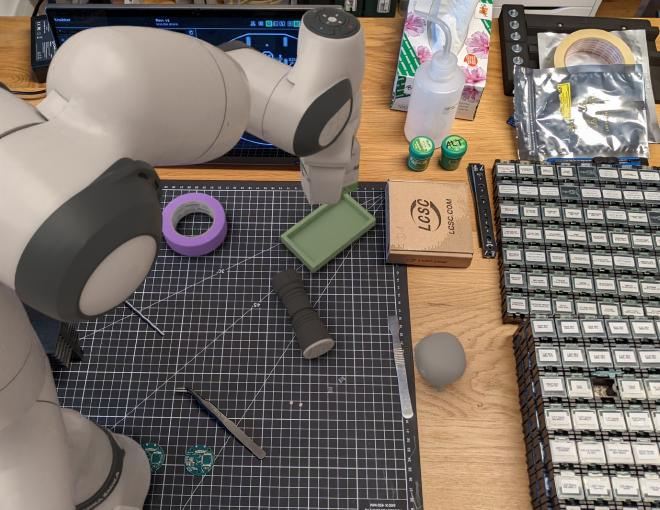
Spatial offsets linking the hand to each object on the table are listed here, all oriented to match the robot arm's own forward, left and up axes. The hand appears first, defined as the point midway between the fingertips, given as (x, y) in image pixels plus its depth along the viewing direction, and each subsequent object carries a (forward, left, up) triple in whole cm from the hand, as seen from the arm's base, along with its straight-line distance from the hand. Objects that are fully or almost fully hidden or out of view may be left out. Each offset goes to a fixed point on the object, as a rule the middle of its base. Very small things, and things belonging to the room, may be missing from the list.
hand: (328, 171), depth 99 cm
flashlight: (-15, -10, -19) cm, 26 cm away
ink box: (0, 0, -5) cm, 5 cm away
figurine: (-6, -32, -19) cm, 38 cm away
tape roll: (-18, +17, -19) cm, 31 cm away
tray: (0, 0, -19) cm, 19 cm away
